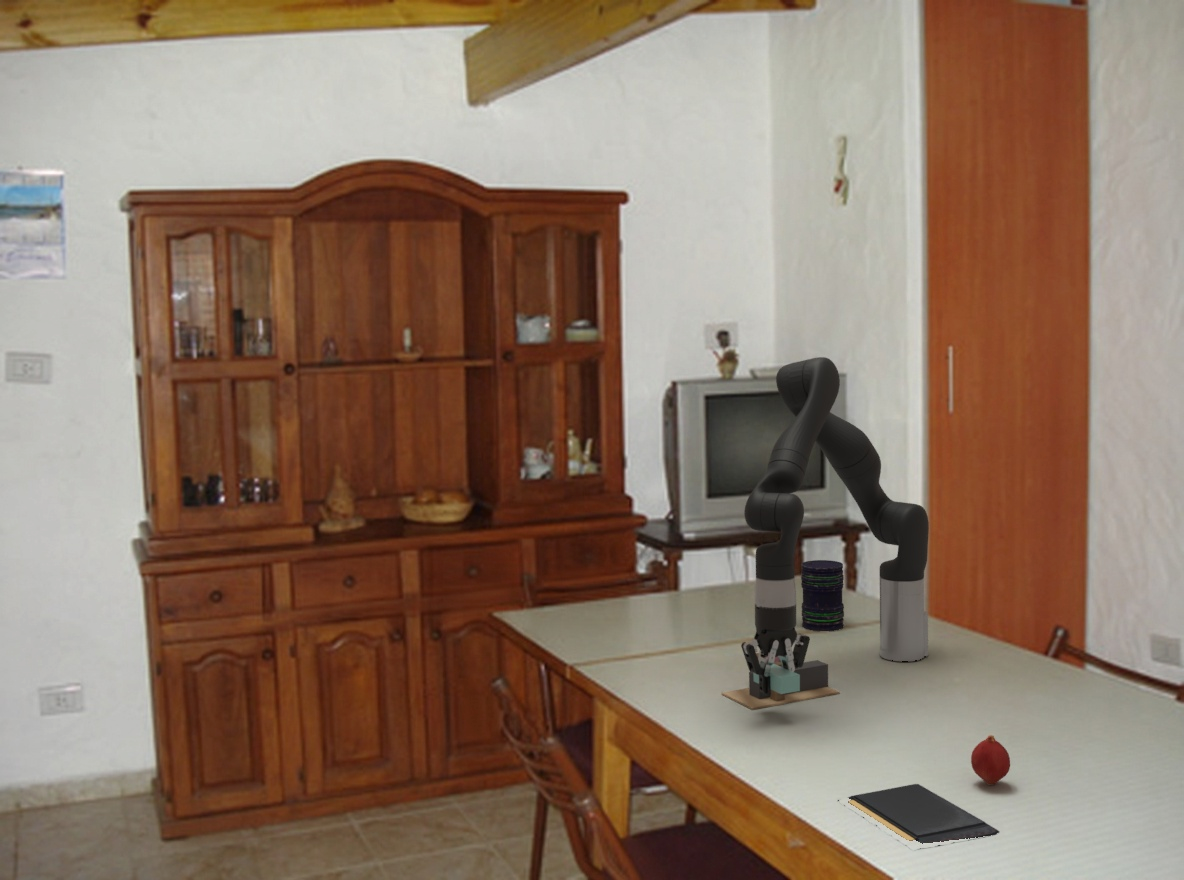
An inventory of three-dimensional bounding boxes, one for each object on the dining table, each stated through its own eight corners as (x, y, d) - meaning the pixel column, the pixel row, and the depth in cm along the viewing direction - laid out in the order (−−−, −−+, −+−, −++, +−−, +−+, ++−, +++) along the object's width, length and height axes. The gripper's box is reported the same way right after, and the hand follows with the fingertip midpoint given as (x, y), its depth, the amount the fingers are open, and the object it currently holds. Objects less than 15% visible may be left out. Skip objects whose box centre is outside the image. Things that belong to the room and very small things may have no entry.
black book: (1002, 825, 174) (909, 842, 169) (1002, 838, 174) (909, 856, 169) (921, 777, 193) (835, 791, 188) (921, 788, 193) (835, 803, 188)
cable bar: (817, 682, 246) (817, 660, 246) (828, 686, 243) (827, 664, 243) (749, 694, 240) (749, 671, 239) (759, 699, 237) (758, 676, 236)
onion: (965, 778, 195) (965, 729, 194) (1000, 776, 195) (1000, 727, 194) (979, 792, 189) (979, 741, 188) (1016, 790, 189) (1016, 739, 189)
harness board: (806, 679, 250) (806, 643, 249) (839, 693, 240) (839, 656, 239) (721, 694, 241) (721, 657, 241) (752, 709, 232) (751, 671, 231)
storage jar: (850, 624, 293) (849, 562, 292) (835, 633, 285) (834, 569, 284) (811, 619, 299) (810, 558, 297) (794, 628, 290) (794, 566, 289)
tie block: (771, 678, 232) (771, 662, 232) (799, 690, 224) (799, 674, 223) (753, 681, 230) (753, 665, 230) (781, 694, 222) (781, 677, 222)
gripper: (796, 593, 232) (797, 682, 233) (731, 601, 226) (732, 693, 227) (819, 600, 225) (820, 692, 227) (753, 610, 219) (754, 704, 221)
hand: (776, 692), depth 227 cm, fingers closed on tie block, 4 cm apart
